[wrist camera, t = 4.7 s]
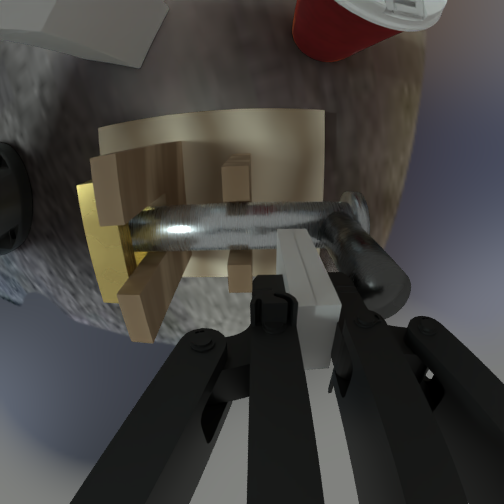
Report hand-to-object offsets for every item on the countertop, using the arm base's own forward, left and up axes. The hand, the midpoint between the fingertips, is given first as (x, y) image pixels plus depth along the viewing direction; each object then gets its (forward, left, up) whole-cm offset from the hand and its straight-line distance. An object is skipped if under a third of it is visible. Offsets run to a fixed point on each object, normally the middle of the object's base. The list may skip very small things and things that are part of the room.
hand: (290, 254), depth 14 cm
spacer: (-11, 0, -5) cm, 12 cm away
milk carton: (-14, +18, -13) cm, 27 cm away
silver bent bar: (-4, 0, -6) cm, 7 cm away
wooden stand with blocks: (-6, 0, -13) cm, 14 cm away
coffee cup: (+5, +16, -13) cm, 22 cm away
